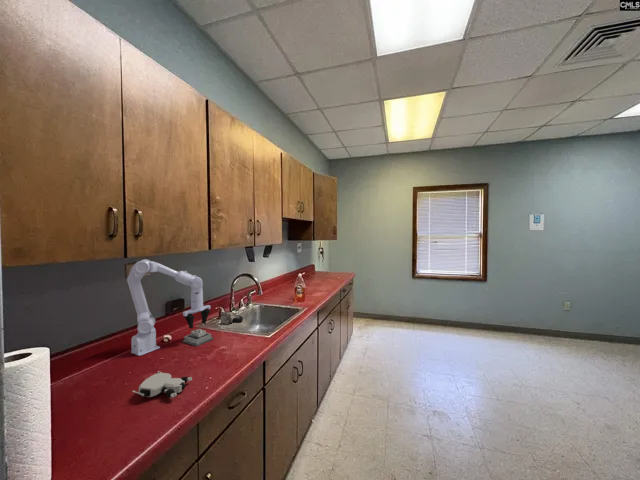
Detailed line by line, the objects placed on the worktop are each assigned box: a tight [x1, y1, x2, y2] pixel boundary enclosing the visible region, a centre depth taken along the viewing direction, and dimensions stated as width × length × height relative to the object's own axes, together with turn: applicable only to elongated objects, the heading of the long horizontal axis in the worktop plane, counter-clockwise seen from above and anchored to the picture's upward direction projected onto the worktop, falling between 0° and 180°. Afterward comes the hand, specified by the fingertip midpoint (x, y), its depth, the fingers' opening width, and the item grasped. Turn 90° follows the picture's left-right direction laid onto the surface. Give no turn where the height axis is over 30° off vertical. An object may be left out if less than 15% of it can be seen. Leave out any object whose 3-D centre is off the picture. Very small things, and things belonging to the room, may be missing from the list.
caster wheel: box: [220, 311, 244, 326], centre depth 160 cm, size 7×11×10 cm
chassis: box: [181, 332, 215, 347], centre depth 133 cm, size 10×12×3 cm
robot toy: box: [132, 371, 193, 399], centre depth 89 cm, size 12×4×15 cm
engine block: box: [190, 328, 207, 339], centre depth 133 cm, size 4×6×5 cm
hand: (197, 325), depth 133 cm, fingers open, 7 cm apart
